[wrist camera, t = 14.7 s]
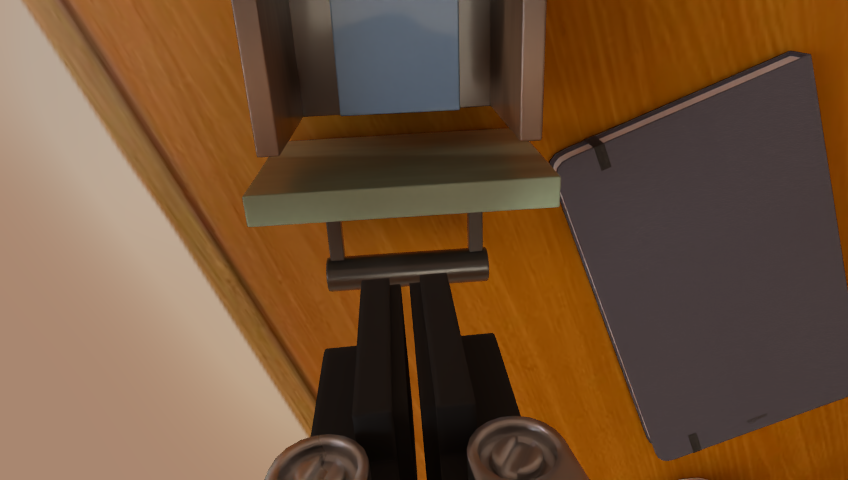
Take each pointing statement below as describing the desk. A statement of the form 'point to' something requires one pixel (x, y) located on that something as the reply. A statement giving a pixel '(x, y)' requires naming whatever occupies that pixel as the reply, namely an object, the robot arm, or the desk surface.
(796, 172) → the notebook
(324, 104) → the drawer
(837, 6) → the desk surface
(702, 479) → the dixie cup
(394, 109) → the block
